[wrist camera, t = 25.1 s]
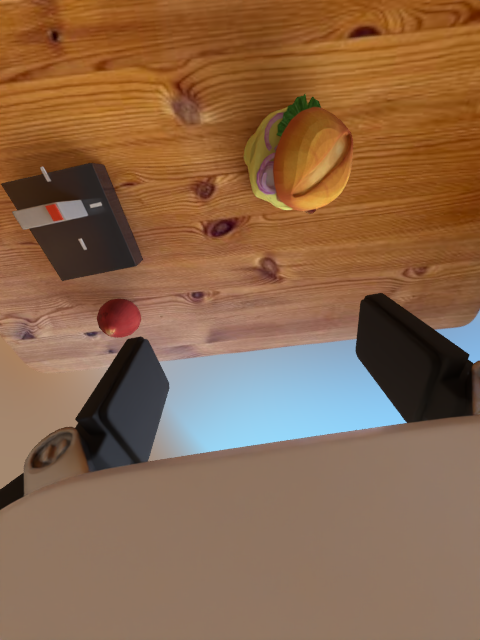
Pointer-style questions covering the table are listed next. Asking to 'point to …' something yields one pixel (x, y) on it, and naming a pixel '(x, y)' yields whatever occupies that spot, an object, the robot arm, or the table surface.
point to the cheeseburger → (299, 157)
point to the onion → (118, 318)
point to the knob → (50, 213)
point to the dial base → (79, 221)
